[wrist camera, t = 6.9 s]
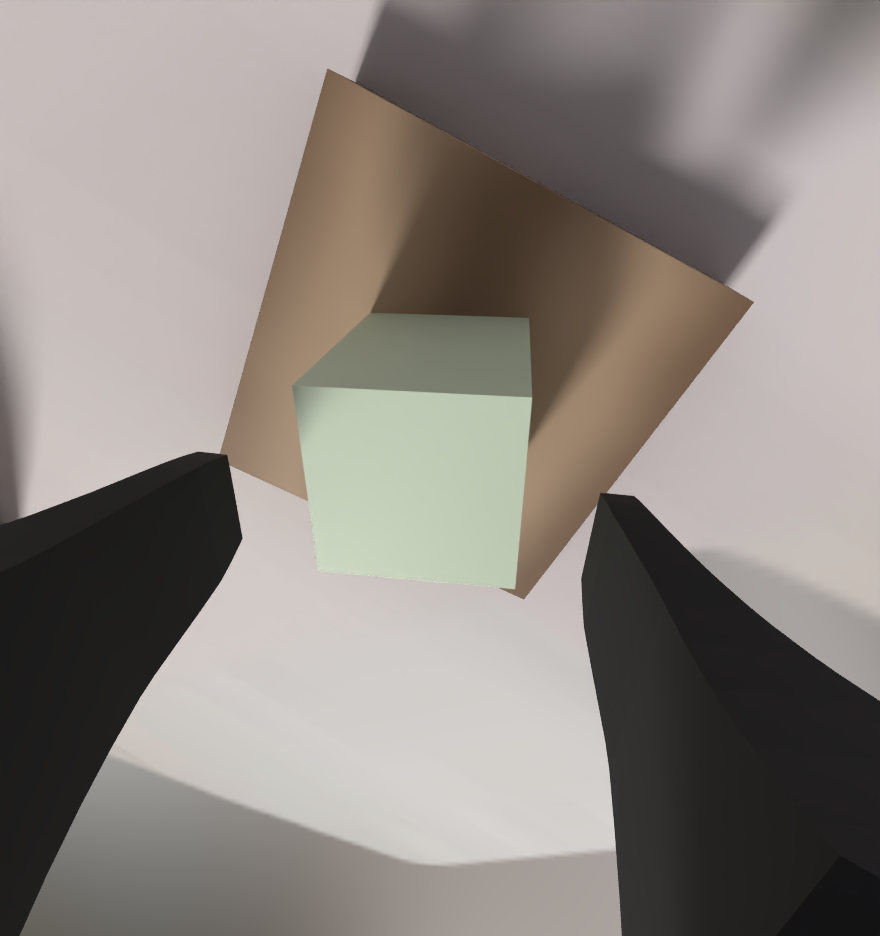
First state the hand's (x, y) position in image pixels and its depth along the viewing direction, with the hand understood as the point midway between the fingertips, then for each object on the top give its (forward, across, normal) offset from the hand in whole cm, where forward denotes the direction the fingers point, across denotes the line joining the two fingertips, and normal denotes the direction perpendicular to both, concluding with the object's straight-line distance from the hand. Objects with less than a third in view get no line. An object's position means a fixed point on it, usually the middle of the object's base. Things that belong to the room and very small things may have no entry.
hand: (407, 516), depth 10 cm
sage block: (+7, 0, 0) cm, 7 cm away
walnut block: (+10, 0, 0) cm, 10 cm away
